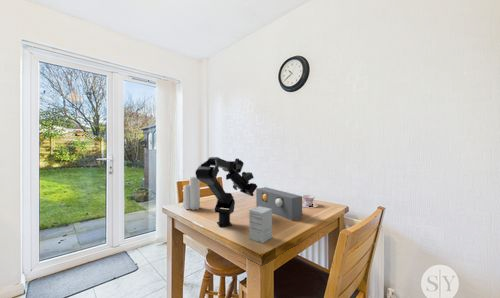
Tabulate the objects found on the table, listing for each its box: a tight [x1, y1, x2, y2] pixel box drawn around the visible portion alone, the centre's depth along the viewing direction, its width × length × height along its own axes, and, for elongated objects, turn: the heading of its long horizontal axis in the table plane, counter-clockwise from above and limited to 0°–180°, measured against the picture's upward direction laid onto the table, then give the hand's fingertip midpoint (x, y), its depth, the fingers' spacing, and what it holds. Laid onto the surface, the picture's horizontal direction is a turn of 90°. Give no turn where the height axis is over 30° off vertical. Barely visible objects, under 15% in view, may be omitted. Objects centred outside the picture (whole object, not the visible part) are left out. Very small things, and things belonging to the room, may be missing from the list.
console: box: [255, 186, 303, 221], centre depth 129 cm, size 8×32×12 cm, turn 35°
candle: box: [182, 176, 201, 211], centre depth 138 cm, size 11×7×20 cm, turn 81°
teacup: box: [302, 194, 319, 209], centre depth 143 cm, size 12×12×6 cm
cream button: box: [275, 198, 283, 207], centre depth 121 cm, size 2×4×4 cm, turn 35°
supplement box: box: [248, 206, 273, 244], centre depth 93 cm, size 7×7×13 cm
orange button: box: [263, 194, 268, 201], centre depth 133 cm, size 2×4×4 cm, turn 35°
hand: (252, 195), depth 127 cm, fingers closed
